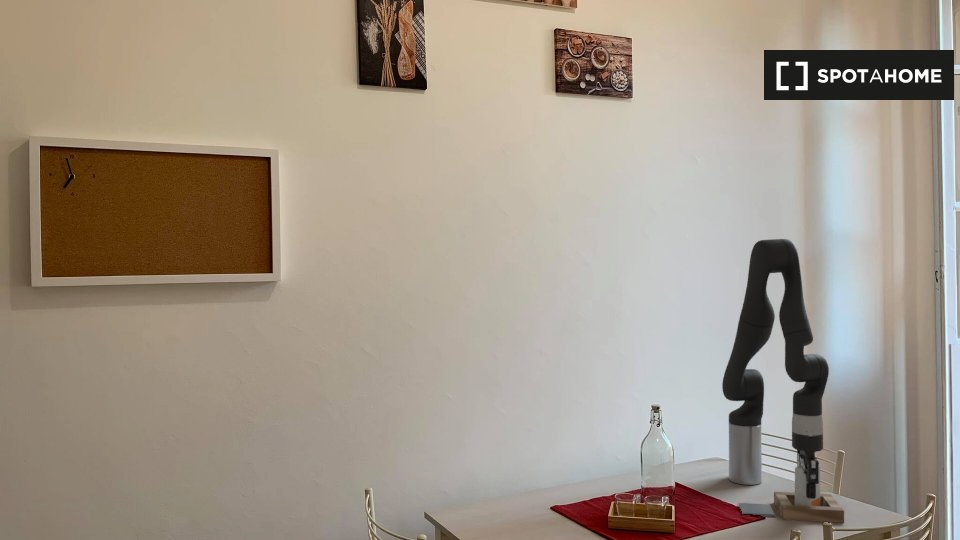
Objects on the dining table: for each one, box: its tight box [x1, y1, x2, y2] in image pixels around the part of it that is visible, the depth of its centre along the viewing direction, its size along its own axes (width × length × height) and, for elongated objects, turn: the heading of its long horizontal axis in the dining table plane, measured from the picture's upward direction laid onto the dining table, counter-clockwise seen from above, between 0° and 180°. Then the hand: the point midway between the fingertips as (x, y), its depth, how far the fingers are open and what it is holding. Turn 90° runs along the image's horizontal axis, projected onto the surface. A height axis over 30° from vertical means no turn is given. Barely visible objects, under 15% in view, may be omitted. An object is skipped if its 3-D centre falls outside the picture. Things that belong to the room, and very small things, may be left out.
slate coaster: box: [737, 502, 776, 518], centre depth 203 cm, size 8×8×1 cm
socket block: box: [773, 491, 845, 523], centre depth 201 cm, size 13×14×3 cm
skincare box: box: [794, 465, 821, 506], centre depth 201 cm, size 6×4×12 cm
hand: (807, 493), depth 201 cm, fingers closed on skincare box, 7 cm apart
